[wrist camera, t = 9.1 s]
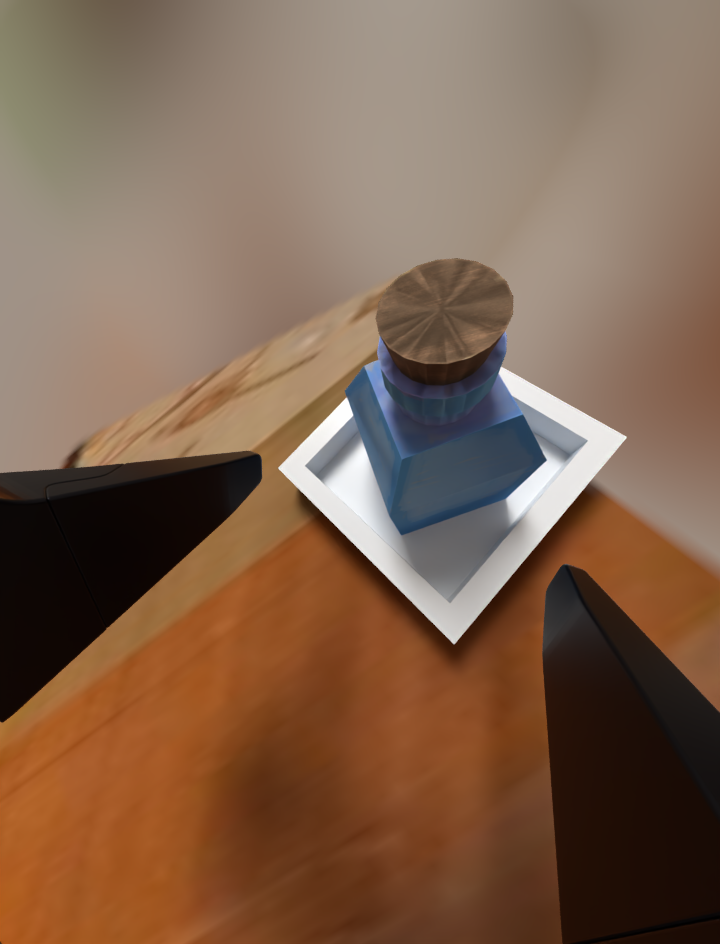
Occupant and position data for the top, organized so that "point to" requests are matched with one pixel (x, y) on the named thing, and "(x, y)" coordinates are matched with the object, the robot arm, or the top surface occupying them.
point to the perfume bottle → (442, 396)
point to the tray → (462, 537)
